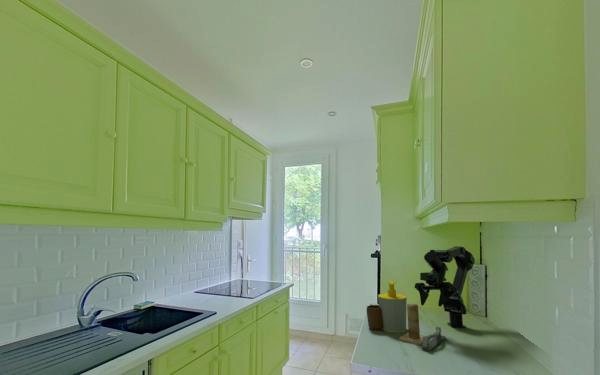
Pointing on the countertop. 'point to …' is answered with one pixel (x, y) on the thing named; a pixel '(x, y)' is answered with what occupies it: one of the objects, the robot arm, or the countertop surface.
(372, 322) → the mug
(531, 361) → the countertop surface
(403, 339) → the terracotta tile
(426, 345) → the gray metal frame
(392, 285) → the soap bottle
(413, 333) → the tan wooden cylinder
